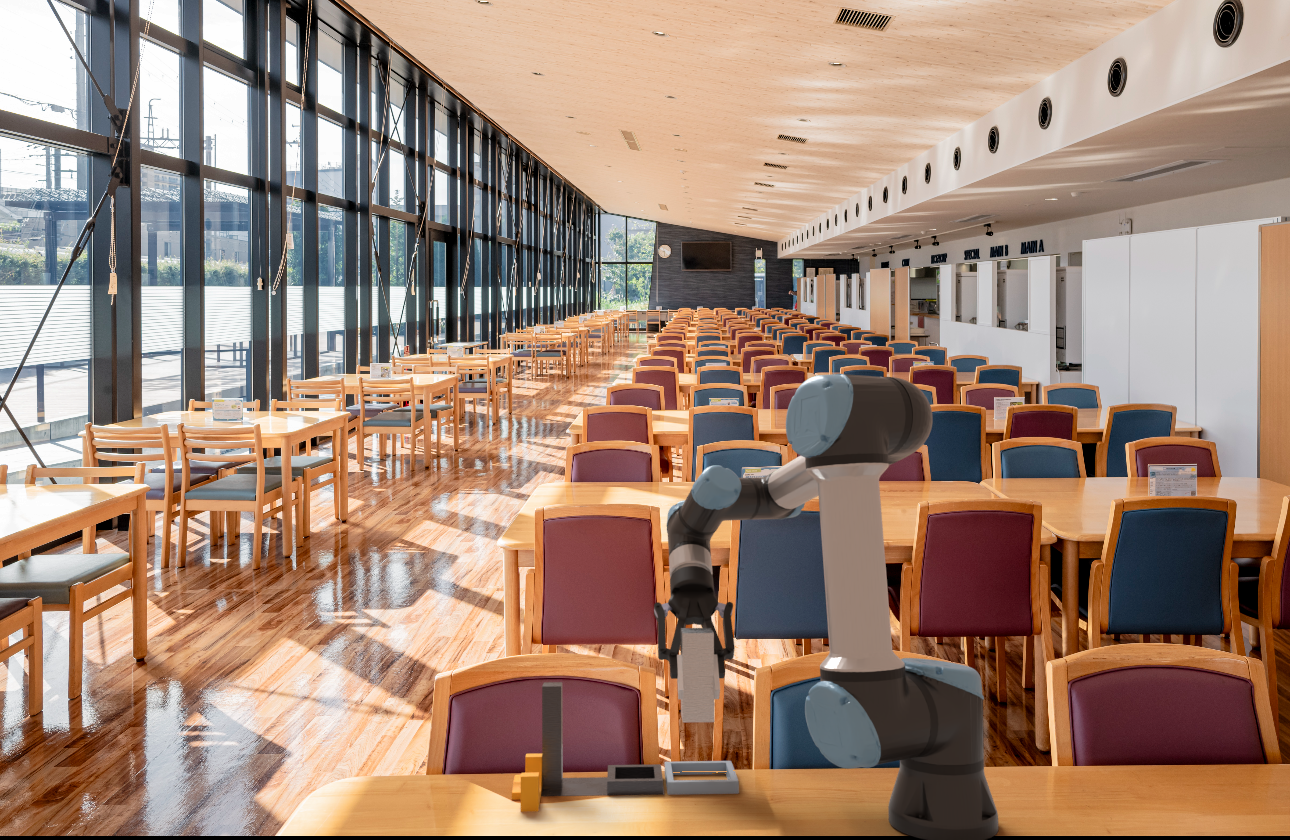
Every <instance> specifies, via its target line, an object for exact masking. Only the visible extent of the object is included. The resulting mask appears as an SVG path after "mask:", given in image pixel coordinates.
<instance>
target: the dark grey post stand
mask: <svg viewBox="0 0 1290 840" xmlns="http://www.w3.org/2000/svg"><path fill="white" fill-rule="evenodd" d="M541 700H542V702H541V705H542V706H541V707H542V709H541V710H542V711H541V714H542V715H541V717H542V718H541V723H542V724H541V725H542V726H541V727H542V728H541V729H542V731H541V735H542V736H541V737H542V739H541V743H542V744H541V746H542V748H541V749H542V750H541V753H542V792H541V797H587V796H588V797H589V796H590V797H593V796H595V797H596V796H602V797H603V796H652V795H653V796H655V795H656V796H657V795H658V796H660V795H665V789H664V788H665V787H664V778H663V771H662V770H663V769H662V764H656V763H655V764H608V765H607V776H606V777H604V776H603V777H600V776H599V777H598V776H596V777H592V776H591V777H563V776H564V772H563V771H564V769H563V767H564V765H563V763H564V762H563V759H564V755H563V753H564V752H563V750H564V747H563V745H564V744H563V743H564V742H563V737H564V736H563V734H564V733H563V721H564V720H563V718H564V717H563V716H564V715H563V682H562V681H560V682H556V681H555V682H551V681H549V682H543V684H542V685H541Z"/></svg>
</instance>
